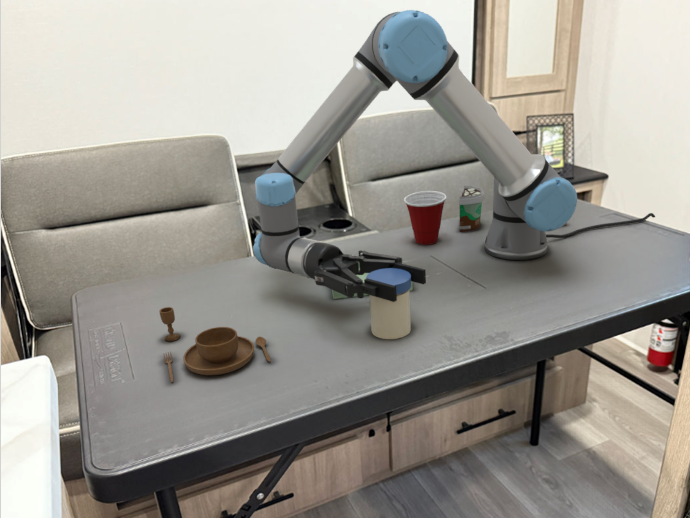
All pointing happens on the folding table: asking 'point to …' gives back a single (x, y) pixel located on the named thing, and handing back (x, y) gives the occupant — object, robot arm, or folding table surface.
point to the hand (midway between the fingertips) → (410, 285)
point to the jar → (390, 316)
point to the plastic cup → (425, 215)
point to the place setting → (213, 349)
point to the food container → (470, 208)
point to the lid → (392, 278)
